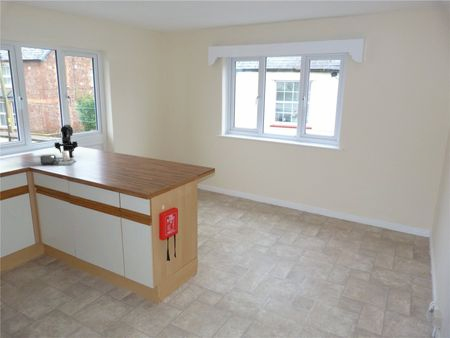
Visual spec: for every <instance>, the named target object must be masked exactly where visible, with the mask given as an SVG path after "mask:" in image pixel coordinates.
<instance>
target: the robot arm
mask: <svg viewBox="0 0 450 338" xmlns="http://www.w3.org/2000/svg"><path fill="white" fill-rule="evenodd" d="M60 132H61V135H62V136H61V143H60V142H54V147H55V149H57V150H59V152H60V154H62V150H63V151H69V157H70V159H74V158H73V157H74V155H73V152H74V151H75V149H76V148H78V146H79V145H78V141H71V140H72V139H71V138H72V136H73V135H74V134H73V133H74V130H73V126H71V125H70V124H64V125H63V126H62V127H61V128H60ZM61 148H62V149H61Z"/></svg>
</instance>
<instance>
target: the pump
mask: <svg viewBox="0 0 450 338" xmlns="http://www.w3.org/2000/svg"><path fill="white" fill-rule="evenodd" d="M61 154H62V155H61V156H62V157H61V158H62V159H63V162H64V161H70V159H71V158H70V157H69V151H64V150H63V151H62V150H61Z"/></svg>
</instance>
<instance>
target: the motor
mask: <svg viewBox="0 0 450 338" xmlns="http://www.w3.org/2000/svg"><path fill="white" fill-rule="evenodd" d="M76 162H77V161H76V160H75V159H74V158H70V161H64V162H63V158H62V159H57V157H56V155H55V154H50V155H47V154H44V155H41V156H40V163H41V165H54V166H57V167H58V166H72V165H74V164H75V163H76Z"/></svg>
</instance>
